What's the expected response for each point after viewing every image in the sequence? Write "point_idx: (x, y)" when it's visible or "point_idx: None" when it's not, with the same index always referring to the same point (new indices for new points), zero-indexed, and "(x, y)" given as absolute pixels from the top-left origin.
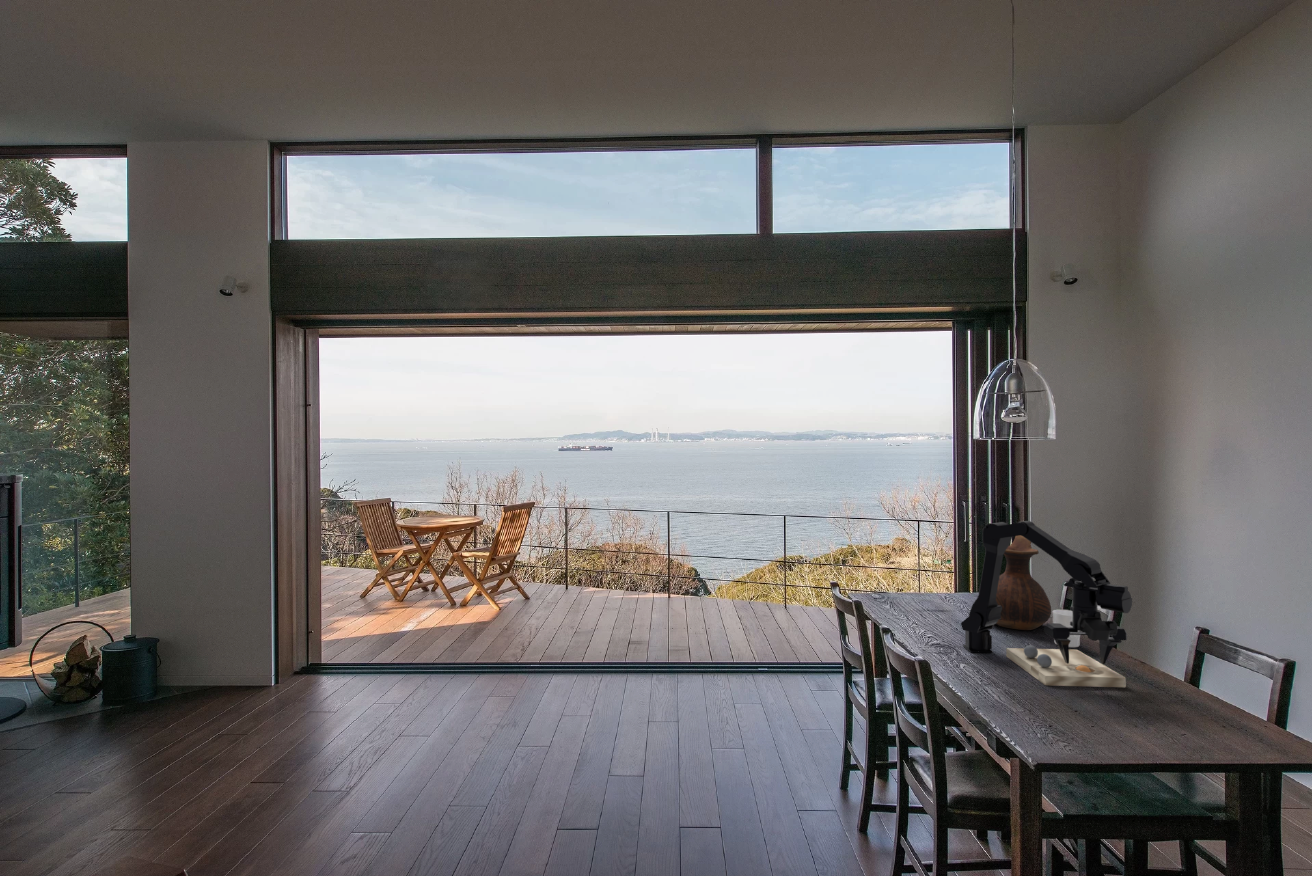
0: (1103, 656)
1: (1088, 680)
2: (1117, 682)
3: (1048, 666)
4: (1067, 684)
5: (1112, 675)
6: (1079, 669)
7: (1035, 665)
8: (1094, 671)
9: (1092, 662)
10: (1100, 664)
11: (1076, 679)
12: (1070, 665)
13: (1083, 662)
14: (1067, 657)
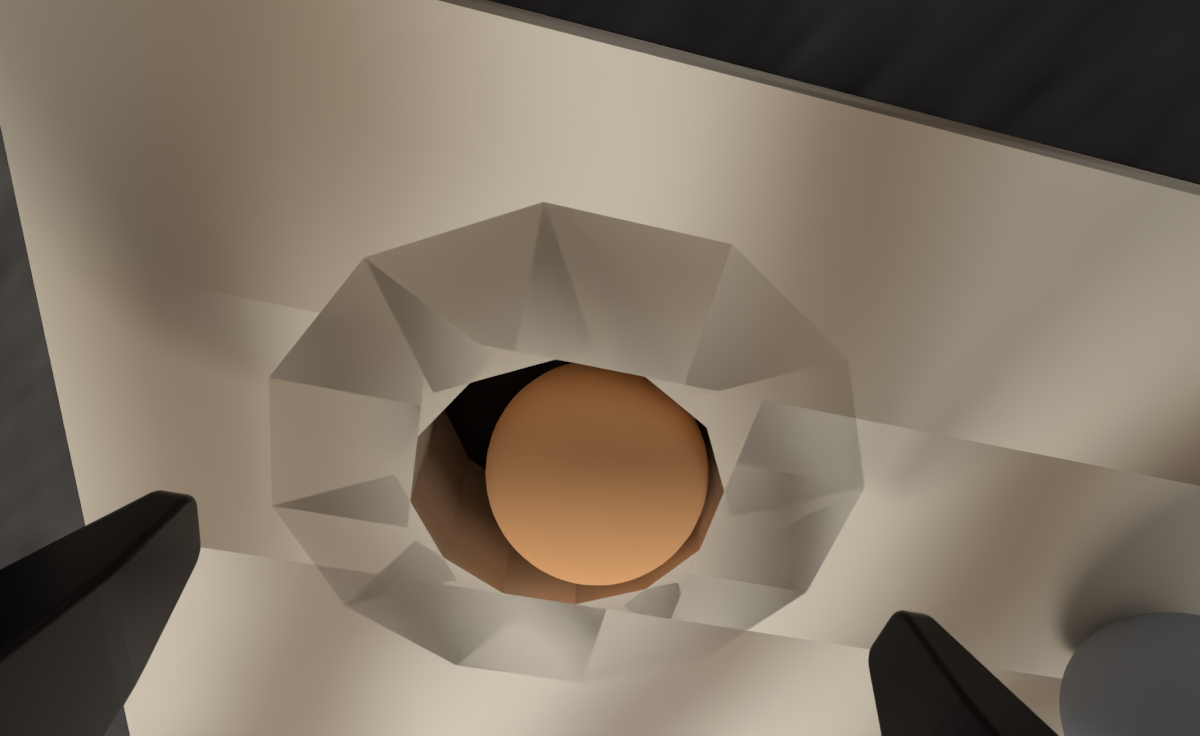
0: (58, 652)
1: (847, 101)
2: None
3: (1168, 614)
4: (1155, 175)
5: (229, 112)
6: (697, 486)
7: None
8: (424, 431)
9: (226, 698)
10: None
11: (1080, 159)
12: (656, 648)
13: (364, 709)
14: (1025, 722)
